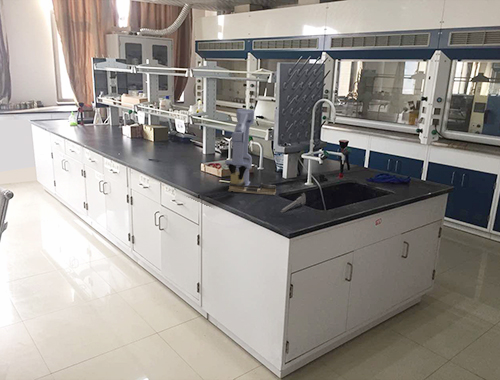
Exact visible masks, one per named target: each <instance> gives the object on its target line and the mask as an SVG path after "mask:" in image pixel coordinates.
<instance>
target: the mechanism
mask: <svg viewBox="0 0 500 380" xmlns="http://www.w3.org/2000/svg"><path fill="white" fill-rule="evenodd" d="M259 185H260V188H259ZM259 185H253V184H252V185H250V184H249V185H248V186H247V187H246V186H245V182H244V181H243V183H239V184H233V183H231V181H230V182H229V185H228V186H229V187H228V188H229V189H228V190H227V191H228V192H231V191H233V193H247V194H258V195H273V196H276V192H277V185H275V184H264V183H263V182H260V184H259Z"/></svg>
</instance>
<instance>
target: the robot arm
mask: <svg viewBox="0 0 500 380" xmlns="http://www.w3.org/2000/svg"><path fill="white" fill-rule="evenodd" d="M235 115H236V116H235V117H236V120H237V123H236V124H235V127H234V132H232V133H231V143H232V144H231V145H232V159H231V160H225V161H224V164H225V165H228V166H227V168H228V170H229V172H230V175H231V174H232V173H235V172H239V180H242V178H243V181H244V182H245V187H248V185H250V184H251V181H250V170H252V168H253V167H252V166H253V158H252V155H251V154H250V153H248V152H249V138H250V137H249V136H250V128H251V126H252V125H253V124H254V122H255V110H254V109H249V108H237V109H236V113H235ZM243 175H244V176H243ZM241 183H243V182H241Z"/></svg>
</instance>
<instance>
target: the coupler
mask: <svg viewBox="0 0 500 380" xmlns="http://www.w3.org/2000/svg"><path fill="white" fill-rule="evenodd" d="M243 176H244V175H243ZM230 182H231V183H233V184H239V183H241V182H243V178H242V180H239V172H237V171H235V173H232V174H231V173H230Z"/></svg>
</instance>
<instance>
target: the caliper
mask: <svg viewBox="0 0 500 380" xmlns="http://www.w3.org/2000/svg"><path fill="white" fill-rule="evenodd" d="M306 200H307V199H306V194H305V192H302V193H301V195H300V196H298V198H296V200H294V201H293V202H291V203H290V204H287V205H286V206H285V207H283V208H282V209H281V211H280V213H284V212H287V211H288V210H290V209H291V208H292V207H294V206H295V205H302V206H304V205H305V204H306Z"/></svg>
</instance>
